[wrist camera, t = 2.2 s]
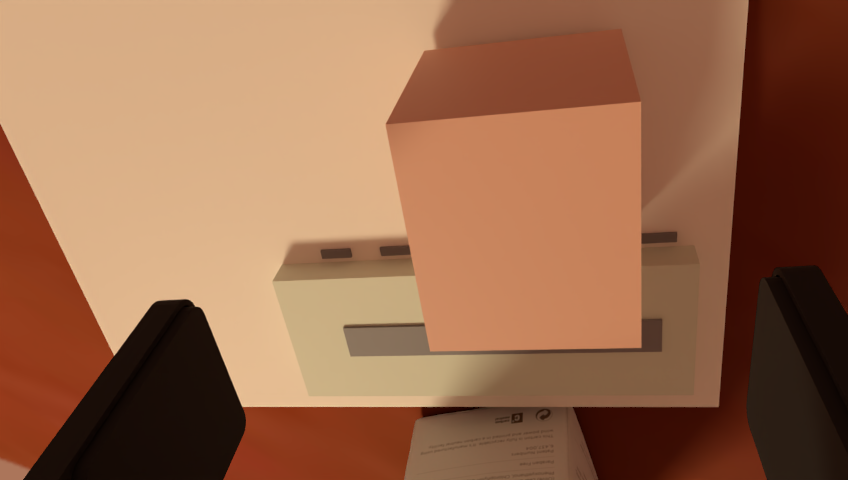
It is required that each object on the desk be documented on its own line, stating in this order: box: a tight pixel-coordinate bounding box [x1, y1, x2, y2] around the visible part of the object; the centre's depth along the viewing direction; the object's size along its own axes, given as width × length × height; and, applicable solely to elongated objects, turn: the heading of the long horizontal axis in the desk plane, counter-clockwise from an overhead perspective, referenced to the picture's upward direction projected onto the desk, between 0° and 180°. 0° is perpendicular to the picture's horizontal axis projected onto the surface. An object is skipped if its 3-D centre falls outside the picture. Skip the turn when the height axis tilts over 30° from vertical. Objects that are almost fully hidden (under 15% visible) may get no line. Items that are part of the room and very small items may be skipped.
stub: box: [385, 29, 641, 352], centre depth 17 cm, size 5×6×5 cm
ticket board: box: [0, 0, 749, 407], centre depth 22 cm, size 22×16×2 cm
